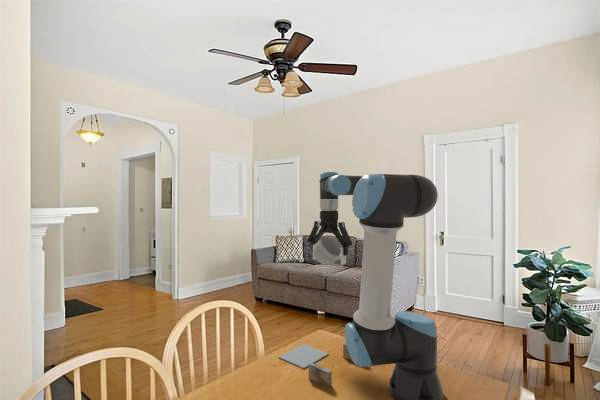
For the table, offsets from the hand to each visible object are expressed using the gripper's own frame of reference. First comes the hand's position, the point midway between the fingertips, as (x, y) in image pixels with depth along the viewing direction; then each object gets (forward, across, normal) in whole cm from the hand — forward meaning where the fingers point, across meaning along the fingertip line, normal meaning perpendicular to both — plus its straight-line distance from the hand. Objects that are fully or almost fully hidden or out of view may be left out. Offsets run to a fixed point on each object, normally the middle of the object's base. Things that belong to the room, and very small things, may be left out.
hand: (329, 262), depth 138 cm
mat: (+32, -2, +18) cm, 36 cm away
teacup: (0, +3, +1) cm, 3 cm away
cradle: (+32, -17, +18) cm, 40 cm away
